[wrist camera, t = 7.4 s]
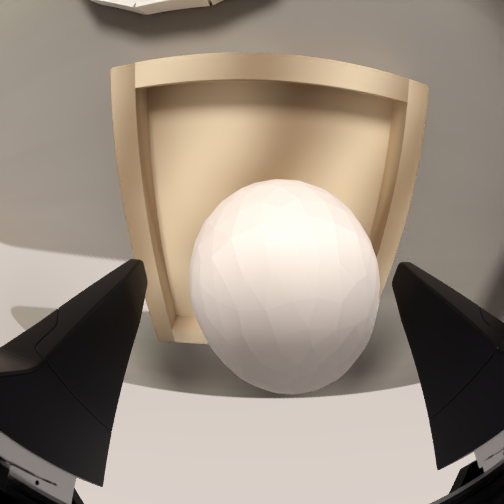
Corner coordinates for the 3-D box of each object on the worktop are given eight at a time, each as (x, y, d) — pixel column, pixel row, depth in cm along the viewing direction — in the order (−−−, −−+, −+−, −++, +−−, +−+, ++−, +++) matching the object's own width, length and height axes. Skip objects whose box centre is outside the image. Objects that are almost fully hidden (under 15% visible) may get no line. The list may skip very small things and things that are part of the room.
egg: (360, 188, 11) (466, 316, 5) (299, 288, 14) (334, 425, 8) (228, 133, 10) (218, 243, 3) (185, 257, 13) (158, 413, 6)
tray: (404, 84, 9) (428, 85, 7) (353, 317, 17) (361, 340, 15) (131, 70, 9) (110, 68, 7) (165, 316, 16) (158, 340, 15)
